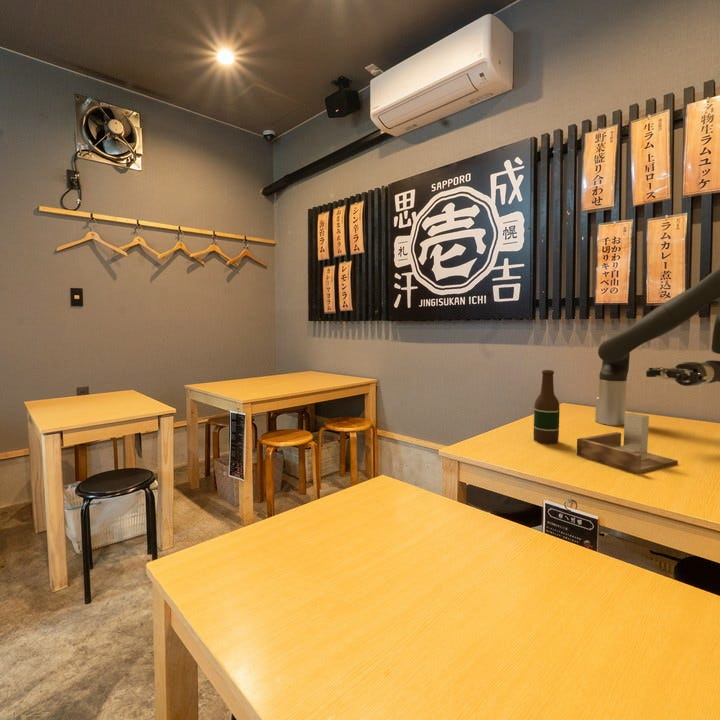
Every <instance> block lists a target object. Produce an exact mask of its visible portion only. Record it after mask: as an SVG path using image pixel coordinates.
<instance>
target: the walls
mask: <svg viewBox="0 0 720 720" xmlns="http://www.w3.org/2000/svg"><path fill="white" fill-rule="evenodd" d="M616 446H622V433H621V432H618V431H615V432H609V433H604V434H597V435H591V436H586V437H580V438H577V441H576V453H577V452H579V453H582V454H585V455H588V456H592V457H595V458H598V459H601V460H605V461H608V462H611V463H614V464H618V465H621V466H624V467H627V468H630V469H634V470H641V455H640V454H636V453H633V452H629V451H625V450H622V449H618V448H614V447H616Z"/></svg>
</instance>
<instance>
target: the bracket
mask: <svg viewBox="0 0 720 720" xmlns="http://www.w3.org/2000/svg"><path fill="white" fill-rule="evenodd" d="M649 422H650V416H649V415H645V414H642V413H634V412H627V413H625V424H624V425H623V445H621V446H619V447H614V448H618V449H622V450H625V451H629V452H633V453H636V454H640V455H641V458H646V457H647V453H648V447H649V446H648V440H649V424H650V423H649Z"/></svg>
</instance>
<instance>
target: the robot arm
mask: <svg viewBox="0 0 720 720" xmlns="http://www.w3.org/2000/svg"><path fill="white" fill-rule="evenodd" d="M717 299H718V304H717V305H718V307H717V313H716V316H715V321H714V325H713V331H712V340H711V352H712V353H715V354H718V355H720V266H718V267H717V268H716V269H715V270H713V271H712V272H711V273H709V274H708V275H707V276H706V277H703V279H702V280H700V281H699V282H698V283H696V284H695V285H693V286H692V287H690V288H688V289H686V290H684V291H683V292H681V293H679V294H677V295H676V296H673V297H672V298H670V299H669V300H667V301H665V302H663V303H661V304H660V305H659V306H657V307H656V308H654V309H653V310H651V311H649V312H648V313H647V314H645V315H644V316H643V317H642V318H640V319H639V320H638V321H636V322H635V323H634V324H632V325H631V326H629V327H628V328H626V329H625V330H623V331H621V332H620V333H618V334H616V335H614V336H612V337H610V338H607V339H606V340H603V342H602V343H601V344H600V345H599V347H598V350H597V355H598V357H599V358H600V359H601V360H602V363H601V370H600V372H599V375H598V377H599V381H598V382H599V383H598V397H596V399H595V417H594V418H595V419H594V421H595V422H597V423H599V424H600V425H605V424H606V426H614V427H615V426H617V427H618V426H624V424H625V414H626V404H627V403H626V401H627V386H628V385H627V384H628V383H627V381H628V379H627V378H628V375H629V374H628V373H629V368H630V356H631V355H630V354H631V352H632V351H634V350H635V349H636V348H638V347H639V346H641V345H643V344H646V343H647V342H650V341H653V340H655V339H656V338H657V339H658V338H660V337H661V336H664V335H665V334H667V333H669V332H671V331H672V330H674V329H676V328H678V327H679V326H682V325H683V324H684V323H686V322H687V321H689V320H690V319H691V318H692V317H694V316H695V315H696V314H697V313H698V312H700V311H701V310H702V309H703V308H704V307H706V306H707V305H709V304H710V303H711V302H713V301H715V300H717ZM645 374H646V375H645V376H646V378H660V379H661V380H662V379H663V380H671V381H675V382H676V383H677V384H679V385H681V386H684V387H689V386H690V387H692V386H701V385H705V384H713V383H716V382H718V383H720V360H715V359H714V360H706V361H684V362H683V361H682V362H680V363H678V364H676V365H675V366H673V367H648V369H647V370H646V373H645Z"/></svg>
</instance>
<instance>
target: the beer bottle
mask: <svg viewBox="0 0 720 720" xmlns="http://www.w3.org/2000/svg"><path fill="white" fill-rule="evenodd" d="M541 375H542V378H541V379H542V380H541V388H540V393H539V395H538V396H537V398H536V399H535V402H534V408H533V409H534V410H533V441H535V442H536V441H537V442H536V443H538V442H539V444H543V443H545V444H544V445H555V444H558V442H559V437H560V436H559V435H560V434H559V433H560V412H561V411H560V402H559V400H558V398H557V396H556V395H555V390H554V389H555V387H554V375H555V372H554V370H552V369H543V370H542V372H541Z"/></svg>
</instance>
